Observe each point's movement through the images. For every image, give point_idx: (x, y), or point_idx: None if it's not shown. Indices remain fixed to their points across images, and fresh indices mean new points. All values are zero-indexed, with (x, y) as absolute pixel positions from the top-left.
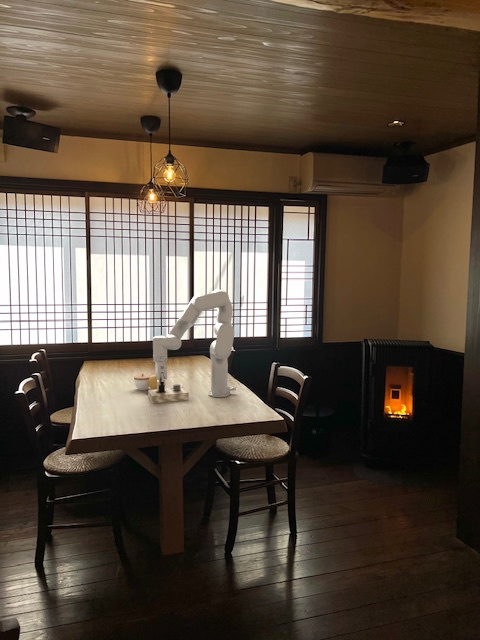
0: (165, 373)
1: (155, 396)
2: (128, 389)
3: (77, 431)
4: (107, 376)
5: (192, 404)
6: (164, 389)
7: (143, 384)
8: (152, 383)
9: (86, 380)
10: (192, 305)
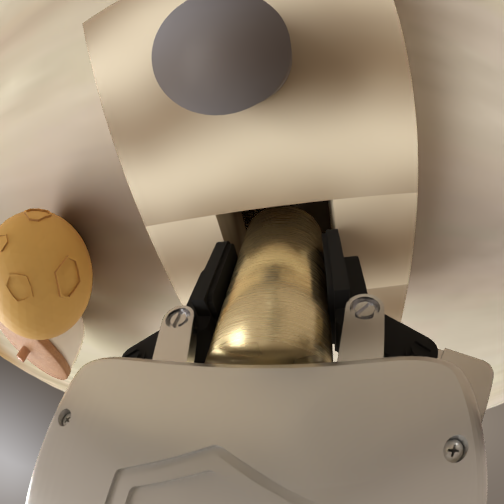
0: (480, 501)
1: (402, 299)
2: (89, 345)
3: (496, 405)
4: (15, 348)
5: (495, 7)
6: (341, 246)
7: (71, 329)
8: (79, 313)
9: (60, 387)
10: None
